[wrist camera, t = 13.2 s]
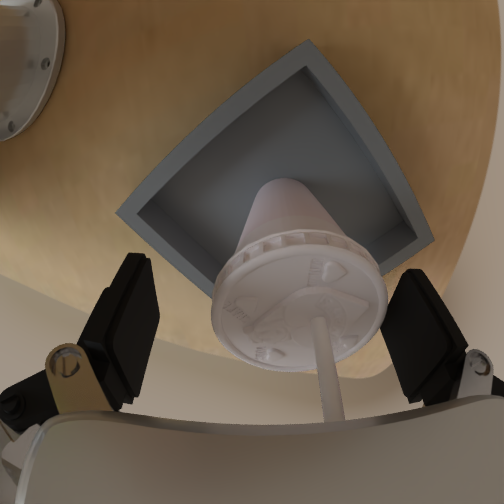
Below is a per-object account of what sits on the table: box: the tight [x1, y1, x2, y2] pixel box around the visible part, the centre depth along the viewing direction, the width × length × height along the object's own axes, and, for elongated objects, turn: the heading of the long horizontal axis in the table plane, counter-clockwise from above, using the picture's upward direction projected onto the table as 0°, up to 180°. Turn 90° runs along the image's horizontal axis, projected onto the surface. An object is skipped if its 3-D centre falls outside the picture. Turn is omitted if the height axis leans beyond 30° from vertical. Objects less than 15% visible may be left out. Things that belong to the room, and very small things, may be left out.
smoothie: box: [211, 178, 388, 423], centre depth 12 cm, size 6×6×14 cm
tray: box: [115, 39, 434, 299], centre depth 17 cm, size 14×14×3 cm
